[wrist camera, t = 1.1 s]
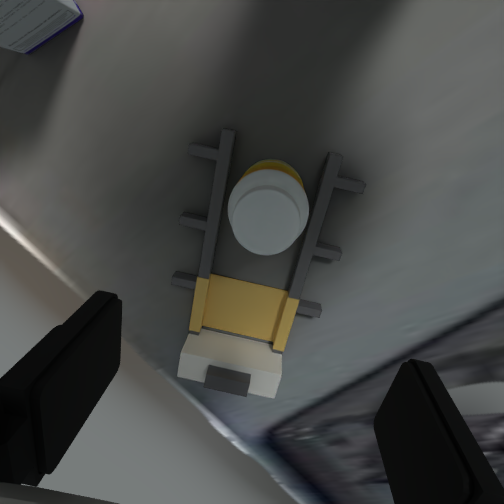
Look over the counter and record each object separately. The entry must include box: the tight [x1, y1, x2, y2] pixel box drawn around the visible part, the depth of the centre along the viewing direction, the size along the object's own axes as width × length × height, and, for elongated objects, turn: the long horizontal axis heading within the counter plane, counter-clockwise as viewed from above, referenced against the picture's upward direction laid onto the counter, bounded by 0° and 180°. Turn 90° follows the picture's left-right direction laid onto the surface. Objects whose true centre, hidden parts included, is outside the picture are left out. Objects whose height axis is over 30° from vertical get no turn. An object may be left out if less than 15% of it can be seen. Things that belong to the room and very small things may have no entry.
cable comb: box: [171, 128, 366, 398], centre depth 28 cm, size 22×14×5 cm, turn 168°
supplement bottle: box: [228, 159, 309, 255], centre depth 23 cm, size 5×5×10 cm
